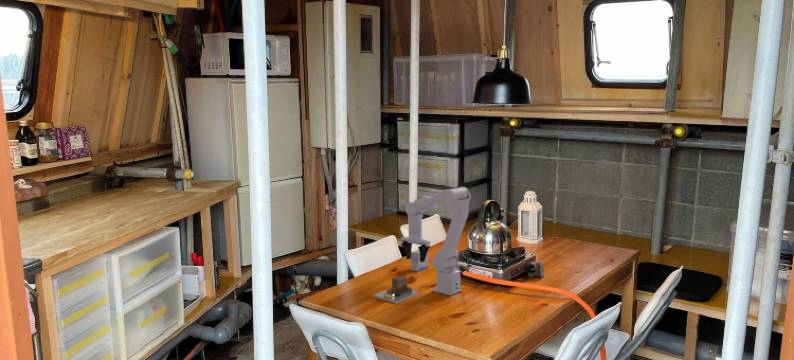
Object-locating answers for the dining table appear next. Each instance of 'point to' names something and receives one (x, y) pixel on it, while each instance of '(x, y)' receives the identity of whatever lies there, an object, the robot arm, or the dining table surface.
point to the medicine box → (418, 261)
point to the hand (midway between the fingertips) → (415, 260)
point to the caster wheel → (535, 269)
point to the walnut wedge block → (399, 283)
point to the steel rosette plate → (396, 295)
